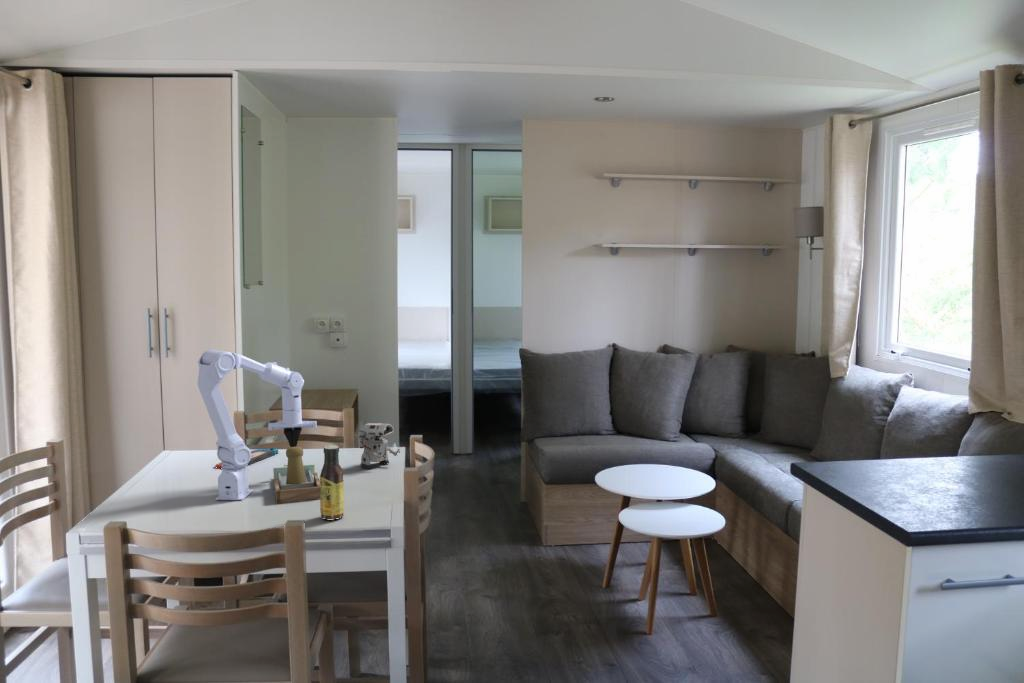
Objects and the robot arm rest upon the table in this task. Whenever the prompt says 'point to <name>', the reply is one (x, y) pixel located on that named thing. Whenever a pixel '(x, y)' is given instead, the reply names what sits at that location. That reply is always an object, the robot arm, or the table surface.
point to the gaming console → (257, 455)
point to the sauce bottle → (331, 485)
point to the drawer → (282, 475)
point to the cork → (295, 466)
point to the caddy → (297, 492)
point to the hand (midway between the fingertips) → (293, 451)
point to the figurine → (376, 444)
